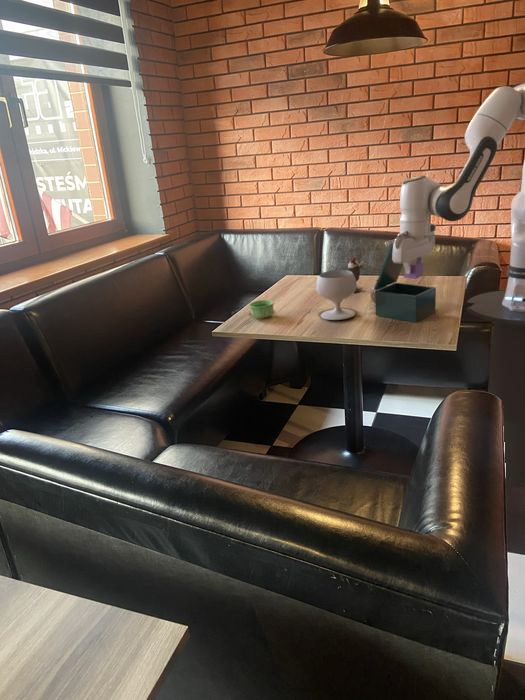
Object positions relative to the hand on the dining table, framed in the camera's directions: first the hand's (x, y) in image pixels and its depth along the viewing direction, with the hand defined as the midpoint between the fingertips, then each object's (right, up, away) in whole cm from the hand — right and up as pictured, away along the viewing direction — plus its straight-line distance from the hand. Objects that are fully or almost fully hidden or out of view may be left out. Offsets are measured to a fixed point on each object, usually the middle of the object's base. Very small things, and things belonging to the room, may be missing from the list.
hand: (413, 271), depth 177 cm
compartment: (-1, -13, +7) cm, 15 cm away
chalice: (-23, -14, +12) cm, 30 cm away
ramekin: (-50, -13, +22) cm, 56 cm away
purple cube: (0, -2, +1) cm, 2 cm away
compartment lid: (-5, +3, +4) cm, 7 cm away
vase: (-6, -9, +22) cm, 25 cm away
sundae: (-12, -2, +42) cm, 43 cm away
